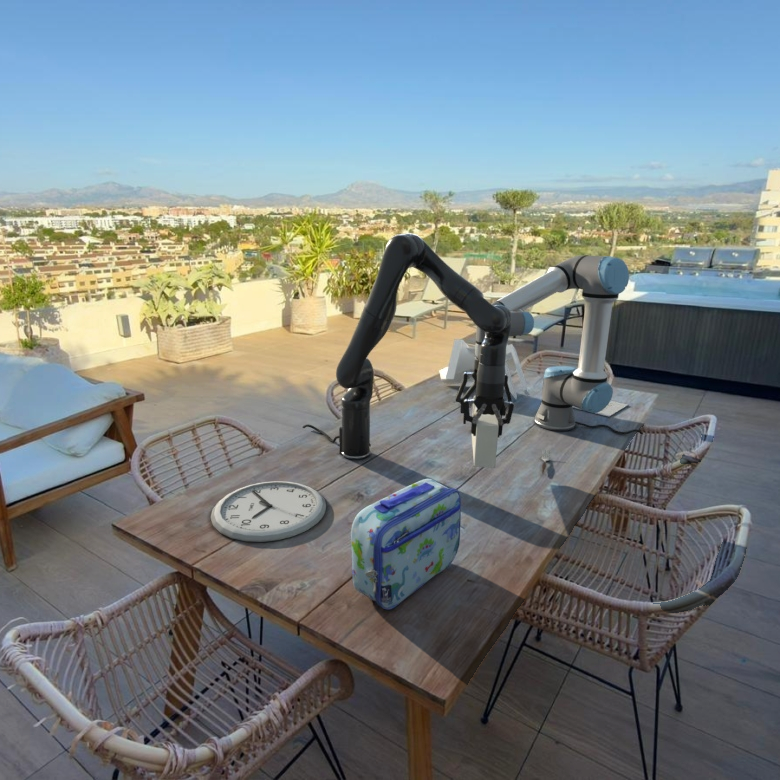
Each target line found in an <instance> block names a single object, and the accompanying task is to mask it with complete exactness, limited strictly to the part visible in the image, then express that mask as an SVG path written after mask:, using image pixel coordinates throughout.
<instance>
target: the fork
mask: <svg viewBox="0 0 780 780" xmlns="http://www.w3.org/2000/svg"><path fill="white" fill-rule="evenodd" d="M541 460H542V461H543V463H542V465H541V474H544V473H545V469H546V468H547V463H546V462H548V461H550V460H551V452H549V451H547V450H544V449H543V450H542V455H541Z"/></svg>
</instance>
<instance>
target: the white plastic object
mask: <svg viewBox="0 0 780 780" xmlns="http://www.w3.org/2000/svg"><path fill="white" fill-rule="evenodd" d="M475 357H476V355H475V345H473V346H469V345H468V343H466V342H465V340H464V339H463V338H460V339H458V338H454V340H453V344H452V349H451V353H450V357H449V362H448V366H446V367H444V368H442V369H440V370H439V371H438V372H439V376H440V381H442V383H443V384H444V385H445V386H449V385H458V384H461V383H462V381H463V377H464V372H467V373H472V372H473V371H474V360H475ZM510 360H513V363H514V366H515V369H516V372H517V376H518V380H519V382H520V385H521V389H522V391H523V393H524V395H525V396H526V397H528V396H531V395H530V390H529V388H528V387H529V386H528V384H527V381H526V378H525V375H524V371H523V369H522V368H523V367H522V366H521V362H520V359H519V355H518V352H517V349H516V347H515V346H514V345H513V343H511V344H508V343H507V346H506V360H505V373H506V374H507V375H508V382H507V383H508V387H509V391H510V394H511V396H512V397H513V398H514V399H515V400H517V392H516V391H517V390H516V388H515V385H514V381H513V378H512V375H511V371H510V369H509V365H508V361H510ZM474 381H475V380H474V378H473V377H470V379H469V380H467V383H468V384H469V383H473V382H474ZM467 383H466V384H467Z"/></svg>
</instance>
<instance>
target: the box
mask: <svg viewBox="0 0 780 780" xmlns="http://www.w3.org/2000/svg"><path fill="white" fill-rule="evenodd" d="M475 396H476V395H473V399H474V398H475ZM476 410H477V407H476V406H475V404H472V414H471V416H472V417H473V416H474V414H475V412H476ZM476 423H477V426H476V436H473V434H472V433H470V434H471V446H472V447H471V448H472V458H473V467H475V468H486V469H487V468H488V469H495V468H496V462H497V450H498V440H499V438H498V429H499V426H498V420H497V418H496V416H495V414H494V415H490V414H486V415H484V414H482V415H481V416H480V418H479V419H478V421H477V422H476Z"/></svg>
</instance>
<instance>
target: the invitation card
mask: <svg viewBox="0 0 780 780" xmlns="http://www.w3.org/2000/svg"><path fill="white" fill-rule="evenodd" d="M628 406H629V404H627V403H623V402H618V401H614V400H610V402H609V404H608V405H607V406H606V407H605V408H604V409H603V410H602V411H600V412H597V413H595V414H596V415H600V416H604V417H608V418H609V417H611V416H613V415H614V414H616V413H617V412H619V411H621V410H623V409H624V408H626V407H628ZM573 409H575V410H581V411H583V410H582V409H579V408H577V407H574V406H573Z"/></svg>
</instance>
